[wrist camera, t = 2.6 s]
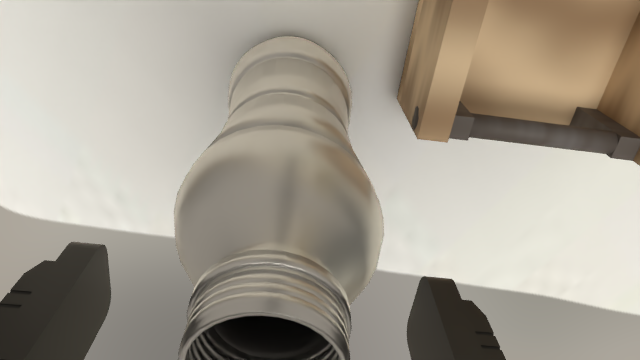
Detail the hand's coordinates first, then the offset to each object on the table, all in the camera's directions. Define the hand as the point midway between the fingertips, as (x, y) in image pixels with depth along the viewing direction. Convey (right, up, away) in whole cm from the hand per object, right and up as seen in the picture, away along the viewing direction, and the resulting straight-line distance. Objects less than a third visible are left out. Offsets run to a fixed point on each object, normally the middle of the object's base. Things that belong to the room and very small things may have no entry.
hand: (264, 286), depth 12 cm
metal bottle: (0, +8, +16) cm, 18 cm away
